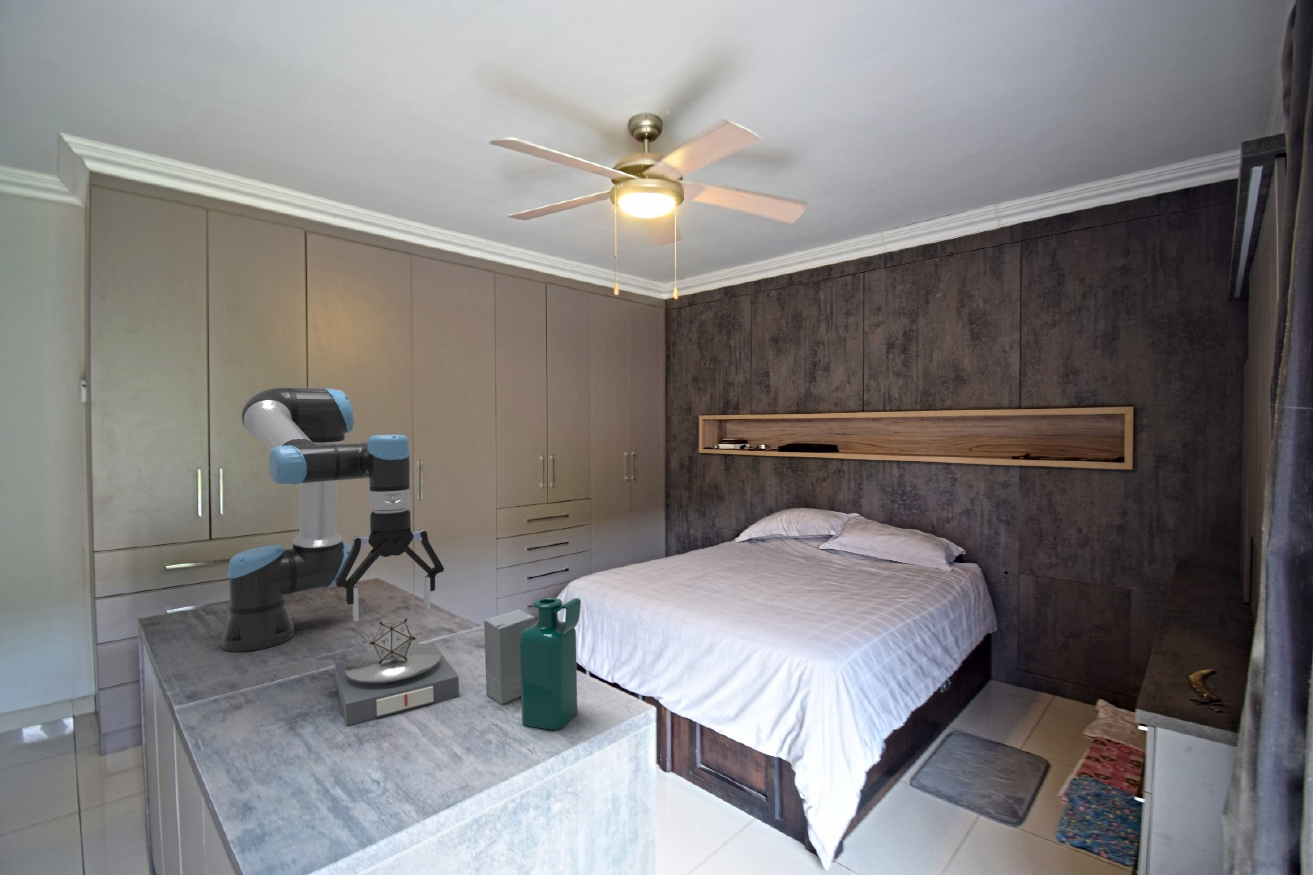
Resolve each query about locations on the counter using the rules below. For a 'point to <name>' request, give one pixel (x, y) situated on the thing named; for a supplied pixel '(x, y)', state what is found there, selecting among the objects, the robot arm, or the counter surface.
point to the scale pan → (393, 665)
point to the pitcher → (549, 665)
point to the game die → (392, 641)
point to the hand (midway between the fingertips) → (392, 612)
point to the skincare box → (504, 654)
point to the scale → (394, 692)
